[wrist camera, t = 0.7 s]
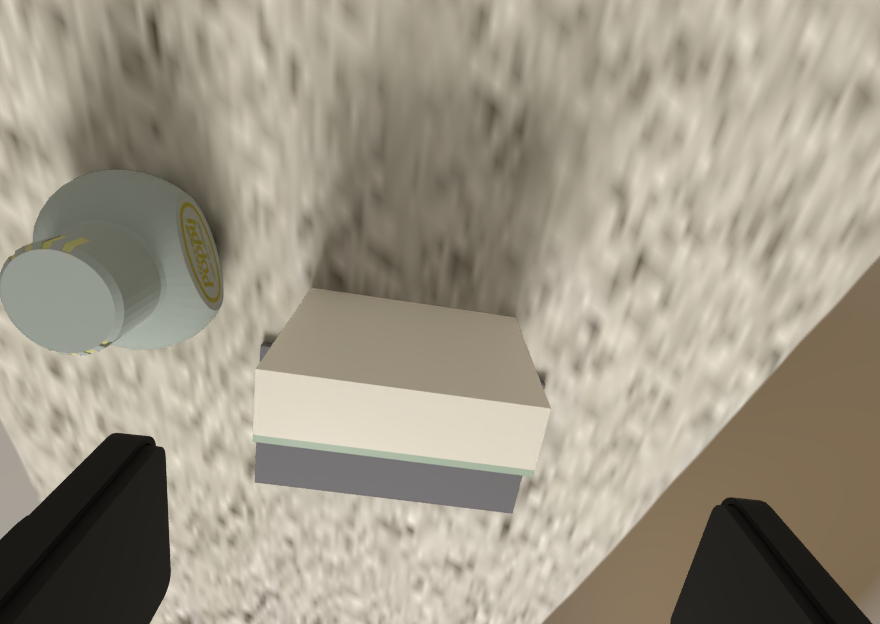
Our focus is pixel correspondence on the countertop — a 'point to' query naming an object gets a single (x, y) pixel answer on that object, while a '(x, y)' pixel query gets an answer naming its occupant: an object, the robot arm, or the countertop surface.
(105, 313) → the air freshener
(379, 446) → the tile
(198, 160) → the countertop surface
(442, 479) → the mat
